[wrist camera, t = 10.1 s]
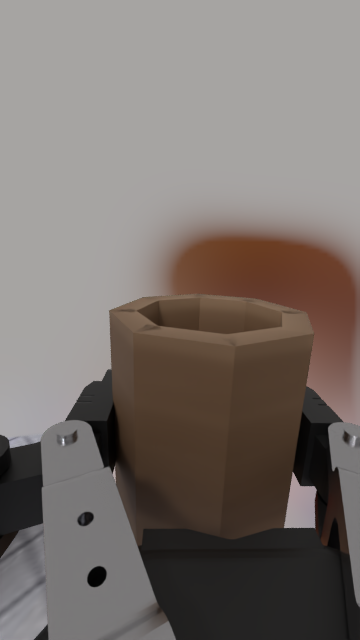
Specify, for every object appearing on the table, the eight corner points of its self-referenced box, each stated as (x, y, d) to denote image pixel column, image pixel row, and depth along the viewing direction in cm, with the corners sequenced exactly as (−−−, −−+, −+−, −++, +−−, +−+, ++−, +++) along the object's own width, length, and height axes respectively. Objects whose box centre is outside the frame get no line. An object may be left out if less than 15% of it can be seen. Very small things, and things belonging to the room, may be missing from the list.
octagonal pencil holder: (94, 617, 9) (73, 324, 7) (168, 469, 16) (171, 286, 13) (265, 701, 8) (323, 358, 5) (272, 499, 14) (300, 296, 11)
